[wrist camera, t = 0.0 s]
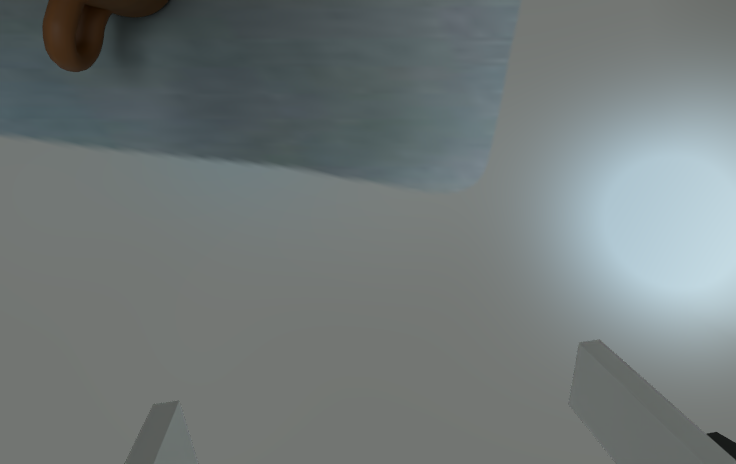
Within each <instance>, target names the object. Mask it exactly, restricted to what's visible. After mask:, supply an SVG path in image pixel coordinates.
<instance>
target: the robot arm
mask: <svg viewBox="0 0 736 464" xmlns="http://www.w3.org/2000/svg"><path fill="white" fill-rule="evenodd" d="M569 406H570V407H571V408H572V409H573V411H574V412H575V413H576V414H577V416H578V417H579V418H580V419H581V421H582V422H583V423H584V424H585V425H586V427H587V428H588V429H589V431H590V432H591V433H592V434H593V436H594V437H595V438H596V439H597V440H598V442H599V443H600V444H601V446H602V447H603V448H604V449H605V451H607V453H608V454H609V455H610V457H611V458H612V459H613V460H614V462H615V463H616V464H736V443H735V442H733V441H731V440H730V439H728V438H726V437H724V436H723V435H721V434H719V433H718V432H714V433H708V434H706V433H704V432H703V431H702V430H701V429H700V428H699V427H698V426H697V425H695V424H694V423H693V422H692V421H691V420H690V419H689V418H687V417H686V416H685V415H684V414H683V413H682V412H681V411H680V410H679V409H677V408H676V407H675V406H674V405H673V404H672V403H671V402H669V401H668V400H667V399H666V398H665V397H664V396H663V395H662V394H660V393H659V392H658V391H657V390H656V389H655V388H654V387H653V386H651V385H650V384H649V383H648V382H647V381H646V380H645V379H644V378H642V377H641V376H640V375H639V374H638V373H637V372H636V371H634V370H633V369H632V368H631V367H630V366H629V365H628V364H627V363H626V362H624V361H623V360H622V359H621V358H620V357H619V356H618V355H616V354H615V353H614V352H613V351H612V350H611V349H610V348H609V347H607V346H606V345H605V344H604V343H603V342H602V341H601V340H593V341H586V342H580V343H579V346H578V351H577V357H576V363H575V368H574V374H573V380H572V386H571V393H570V398H569ZM124 464H199V463H198V460H197V457H196V453H195V450H194V447H193V444H192V440H191V437H190V434H189V431H188V427H187V424H186V421H185V417H184V414H183V411H182V408H181V404H180V401H173V402H166V403H159V404H153V406H152V408H151V410H150V412H149V414H148V416H147V418H146V420H145V422H144V424H143V426H142V428H141V430H140V432H139V434H138V437H137V439H136V441H135V443H134V445H133V447H132V449H131V451H130V453H129V455H128V457H127V459H126V461H125V463H124Z"/></svg>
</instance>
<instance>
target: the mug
mask: <svg viewBox="0 0 736 464" xmlns="http://www.w3.org/2000/svg"><path fill="white" fill-rule="evenodd" d="M168 1H169V0H49V2H48V5H47V9H46V12H45V16H44V19H43V39H44V44H45V49H46V51H47V53H48V55H49V57H50V58H51V60H53V61H54V62H55V63H56V64H57V65H58V66H59V67H60V68H62V69H64V70H67V71H71V72H80V71H83V70H86V69H88V68H89V67H91V66H92V65H93V63H94V62H95V61H96V59H97V58H98V56H99V54H100V51H101V48H102V44H103V38H104V30H105V26H106V23H107V21H108V18H109V16H110V15H111V14H112V13H113V14H116V15H120V16H125V17H144V16H148V15H151V14H153V13H155V12H157V11H159V10H160V9H161V8H162V7H163V6H164V5H165V4H166V3H167V2H168Z"/></svg>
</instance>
